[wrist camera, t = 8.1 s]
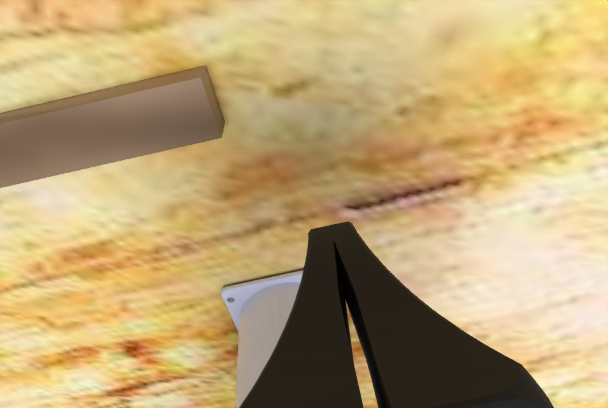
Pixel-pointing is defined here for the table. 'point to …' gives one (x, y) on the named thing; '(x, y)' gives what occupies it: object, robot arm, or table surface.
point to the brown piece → (108, 126)
